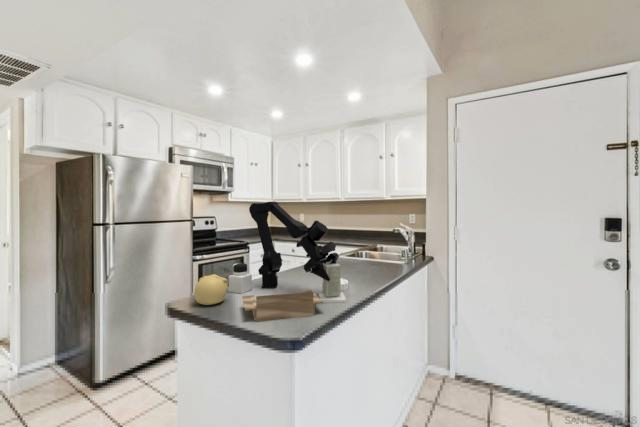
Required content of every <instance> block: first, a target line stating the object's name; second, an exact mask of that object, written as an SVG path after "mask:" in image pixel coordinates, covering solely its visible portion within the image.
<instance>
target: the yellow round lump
mask: <svg viewBox="0 0 640 427" xmlns="http://www.w3.org/2000/svg"><path fill="white" fill-rule="evenodd" d="M198 280H199V281H197V283H196V285H195V288H194V298H195V300H196V302H197V303H198V304H200V305H203V306H211V305H216V304H219V303H221V302H223V301H224V299H225V297H226V294H227V292H228V290H229V279H227V278H225V277H222V276H219V275H217V274H216V273H215V274H209V275H203V276H202V277H200V278H198Z"/></svg>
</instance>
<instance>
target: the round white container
mask: <svg viewBox="0 0 640 427" xmlns="http://www.w3.org/2000/svg"><path fill="white" fill-rule="evenodd" d="M321 288H322V289H323V280H322V282H321ZM348 289H349V280H347V279H345V278H341V279H340V292H342V291H347V290H348Z"/></svg>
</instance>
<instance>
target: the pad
mask: <svg viewBox="0 0 640 427" xmlns="http://www.w3.org/2000/svg"><path fill="white" fill-rule="evenodd" d="M318 297H319V298H320V299H321V300H322V301H323V303H322V304H325V303H326V304H329V303H333V304H334V303H347V299H346V296H345V294H344V292H342V291H341V292H340V295H338V296H328V297H326V296H325V295H324V294H323V292H319V293H318Z"/></svg>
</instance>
